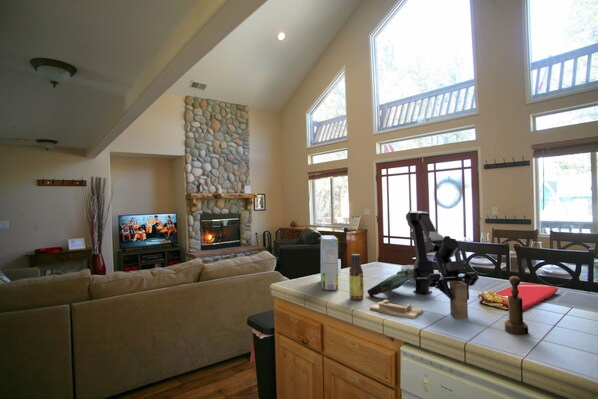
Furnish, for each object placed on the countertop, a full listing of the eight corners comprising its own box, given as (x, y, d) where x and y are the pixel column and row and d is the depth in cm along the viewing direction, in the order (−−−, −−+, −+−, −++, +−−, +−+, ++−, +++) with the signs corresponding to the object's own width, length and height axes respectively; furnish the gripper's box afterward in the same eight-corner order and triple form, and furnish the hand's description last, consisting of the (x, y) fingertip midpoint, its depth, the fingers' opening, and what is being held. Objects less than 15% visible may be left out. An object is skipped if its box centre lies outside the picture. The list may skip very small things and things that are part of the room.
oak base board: (380, 303, 141) (379, 296, 141) (422, 311, 130) (422, 304, 130) (370, 309, 134) (369, 302, 134) (414, 318, 122) (414, 310, 122)
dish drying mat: (478, 304, 139) (478, 295, 139) (520, 288, 162) (520, 280, 162) (520, 314, 126) (520, 304, 126) (559, 295, 149) (559, 287, 149)
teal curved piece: (381, 279, 168) (415, 263, 157) (388, 291, 166) (423, 275, 156) (364, 288, 152) (400, 271, 142) (371, 301, 150) (408, 285, 140)
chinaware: (403, 285, 172) (402, 270, 172) (399, 278, 186) (399, 264, 186) (433, 285, 169) (433, 270, 169) (427, 278, 184) (426, 265, 184)
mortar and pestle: (500, 327, 112) (498, 274, 112) (517, 326, 112) (516, 273, 113) (514, 335, 105) (512, 278, 105) (533, 334, 106) (531, 278, 106)
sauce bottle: (363, 300, 146) (363, 255, 146) (349, 300, 147) (348, 255, 147) (363, 296, 152) (362, 253, 153) (349, 296, 153) (349, 253, 154)
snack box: (340, 290, 164) (338, 238, 164) (322, 291, 164) (321, 239, 164) (335, 280, 185) (334, 234, 186) (320, 280, 186) (319, 234, 186)
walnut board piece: (450, 314, 126) (449, 281, 126) (460, 313, 126) (459, 281, 127) (457, 318, 121) (456, 284, 121) (467, 318, 122) (466, 284, 122)
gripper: (428, 253, 128) (442, 289, 117) (475, 251, 129) (494, 287, 117) (420, 269, 136) (433, 304, 124) (464, 268, 136) (481, 302, 125)
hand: (460, 299), depth 123 cm, fingers open, 6 cm apart
